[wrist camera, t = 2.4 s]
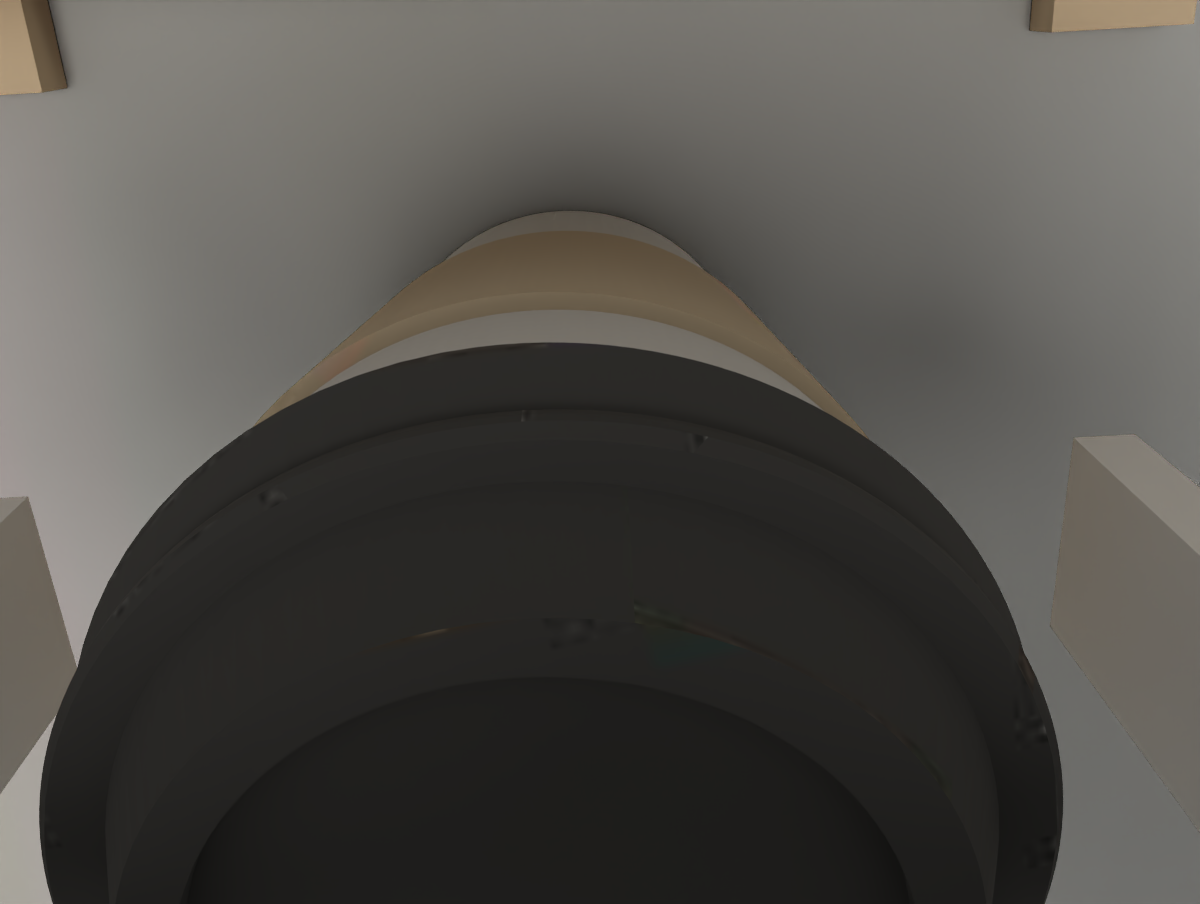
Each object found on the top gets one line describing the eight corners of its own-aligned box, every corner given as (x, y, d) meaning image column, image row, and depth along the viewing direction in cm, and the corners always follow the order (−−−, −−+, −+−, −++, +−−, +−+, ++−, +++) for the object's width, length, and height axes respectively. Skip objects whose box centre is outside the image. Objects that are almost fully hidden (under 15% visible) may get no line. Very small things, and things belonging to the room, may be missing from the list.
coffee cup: (280, 202, 21) (-330, 624, 7) (759, 99, 20) (1155, 325, 6) (411, 615, 24) (179, 1455, 10) (824, 536, 24) (1173, 1312, 10)
